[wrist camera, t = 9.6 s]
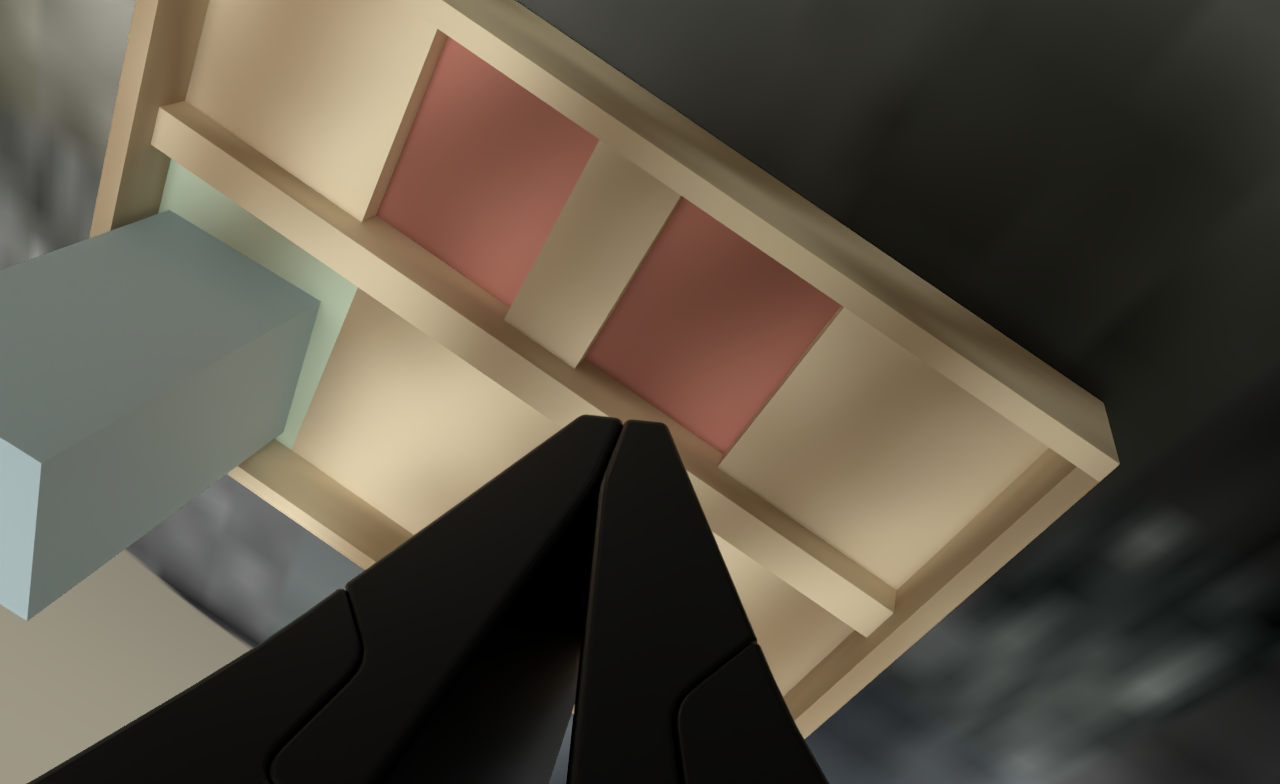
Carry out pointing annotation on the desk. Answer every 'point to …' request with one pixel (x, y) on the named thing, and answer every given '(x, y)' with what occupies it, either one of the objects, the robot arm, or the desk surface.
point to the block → (131, 391)
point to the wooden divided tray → (590, 312)
